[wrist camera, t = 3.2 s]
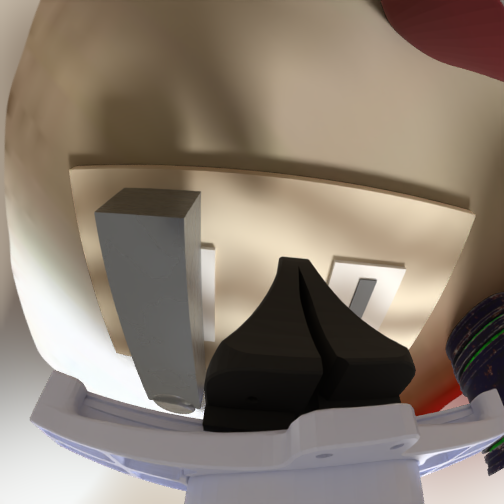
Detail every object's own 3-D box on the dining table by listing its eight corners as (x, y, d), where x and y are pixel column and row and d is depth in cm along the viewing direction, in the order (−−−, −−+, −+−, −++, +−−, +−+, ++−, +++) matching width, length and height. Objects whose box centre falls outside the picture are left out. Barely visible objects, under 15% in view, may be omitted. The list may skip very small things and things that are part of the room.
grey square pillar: (209, 374, 23) (201, 417, 19) (164, 367, 23) (152, 408, 19) (206, 182, 14) (183, 218, 10) (135, 179, 14) (94, 212, 10)
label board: (387, 370, 24) (390, 379, 22) (119, 346, 24) (115, 355, 23) (469, 210, 15) (479, 217, 14) (75, 166, 15) (65, 171, 14)
